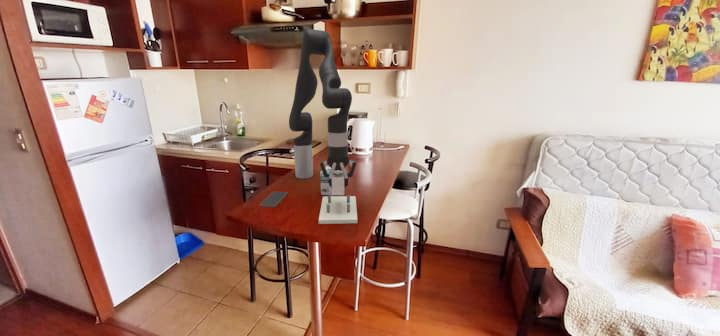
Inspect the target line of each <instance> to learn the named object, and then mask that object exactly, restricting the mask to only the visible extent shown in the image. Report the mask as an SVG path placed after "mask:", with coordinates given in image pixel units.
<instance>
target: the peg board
mask: <svg viewBox="0 0 720 336" xmlns="http://www.w3.org/2000/svg"><path fill="white" fill-rule="evenodd" d="M325 224H326V225H330V224H331V225H332V224H334V225H335V224H340V225H342V224H344V225H345V224H358V211H357V198H356V196H355V195H353V196H352V195H350V194H347V195H346V196H345V195H335V196H332V195H324V196H322V200H321V206H320V211H319V216H318V225H325Z"/></svg>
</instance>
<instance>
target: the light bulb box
mask: <svg viewBox="0 0 720 336" xmlns="http://www.w3.org/2000/svg"><path fill="white" fill-rule="evenodd" d="M325 168H326V171H327V173H328V174H330V170H331V167H330V166H329V165H326V167H325ZM319 173H320V174H319V175H320V195H322V196H328V195H331V196H336V195H332V188H331V186H329V178H327V177H324V175H323V172H322V170H321V171H320V172H319Z"/></svg>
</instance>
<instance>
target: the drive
mask: <svg viewBox="0 0 720 336" xmlns="http://www.w3.org/2000/svg"><path fill="white" fill-rule="evenodd" d="M345 189H346V188H345V177H344V173H343V171H340V170H337V171H334V173H332V195H335V196H345ZM332 195H331V196H332Z"/></svg>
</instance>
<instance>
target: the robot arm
mask: <svg viewBox="0 0 720 336" xmlns="http://www.w3.org/2000/svg"><path fill="white" fill-rule="evenodd" d="M332 41H333V40H332V38H331V34H330V33H329V32H327V31H325V30H321V29H320V30H319V29H314V28H313V29H312V28H307V29H305V30H304V32H303V34H302V40H301V50H300V57H299V58H300V60H299V67H298V71H297V72H298V73H297V78H296V83H295V88H294V89H295V91H294V97H293V102H292V107H291V110H290V113H289V117H288V118H289V119H288V126H289V129H290V130H291V131H292V132H296V133H297V132H302V133H301V134H300V135H299V136H297V137H294V139H293V154H294V169H295V170H294V171H295V177H296V178H297V179H303V180H304V179H309V178H313V177H314V163H313V161H314V159H313V118H312V114H311V113H310V112H308V111H307V112H306V111H305V112H303V110H304V108H305V107H307V105H308V104H309V103H310V102H311V101H313V99H314V98H315V95H316V92H317V89H318V81H319V80H318V78H317V75H316V73H315V71H314V69H313V67H312V64H311V61H310V58H311V55H316V56H318V55H319V56H324V58H323V60H322V62H320V64H319V68H318V76H319V78H320V83H321V86H322V95H321V102H322V105H323V106H324V108H326V109H330V110H332V109H333V110H336V109H339V111H338V112H337V113H335V114H332V115H330V116H329V117H327V141H326V144H327V159H326V160H320V163H319V166H320V168H321V171H322V172H323V175H324V177H327V178H329V186H331V188H332V173H334V171H337V170H340V171H343V173H344V177H345V189H346V188H347V187H348V186H349V178H353V176H354V172H355V170H356V169H355V168H356V166H357V165H356V164H357V161H356V160H351V159H350V158H349V137H348V135H349V134H348V117H349V114H350V108H351V105H352V101H353V99H352V98H353V95H352V92H351V91H350V89H348V88H345V87H344V88H343V87H341V85H342V79H341V76H340V74H339V71H338V68H337V66H336V62H335V61H336V60H335V53H334V46H333V43H332ZM348 165H349V166H350V170H349V172H348V171H347V169H346V168H347V166H348ZM326 166H330V167H331V170H330V174H328V173H327V171H326V168H325V167H326Z"/></svg>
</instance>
